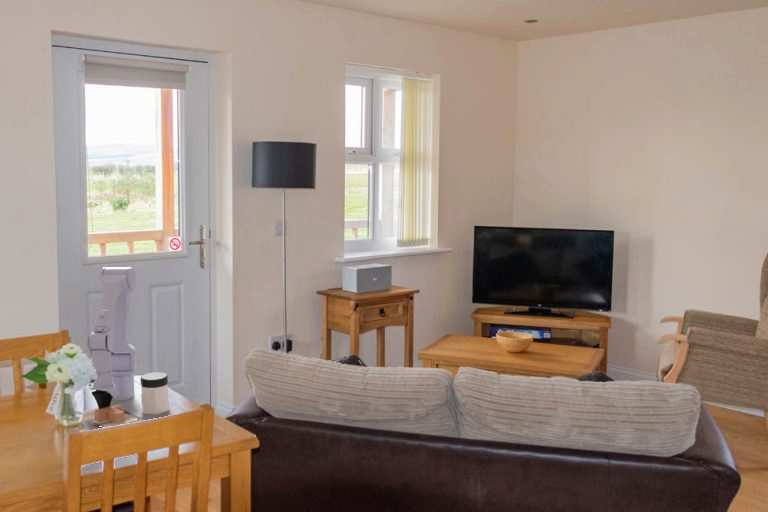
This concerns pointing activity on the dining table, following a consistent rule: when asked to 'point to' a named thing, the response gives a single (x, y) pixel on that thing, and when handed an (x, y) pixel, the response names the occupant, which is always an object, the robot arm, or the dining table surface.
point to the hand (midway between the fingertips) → (104, 413)
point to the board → (90, 418)
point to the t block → (110, 414)
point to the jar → (155, 393)
